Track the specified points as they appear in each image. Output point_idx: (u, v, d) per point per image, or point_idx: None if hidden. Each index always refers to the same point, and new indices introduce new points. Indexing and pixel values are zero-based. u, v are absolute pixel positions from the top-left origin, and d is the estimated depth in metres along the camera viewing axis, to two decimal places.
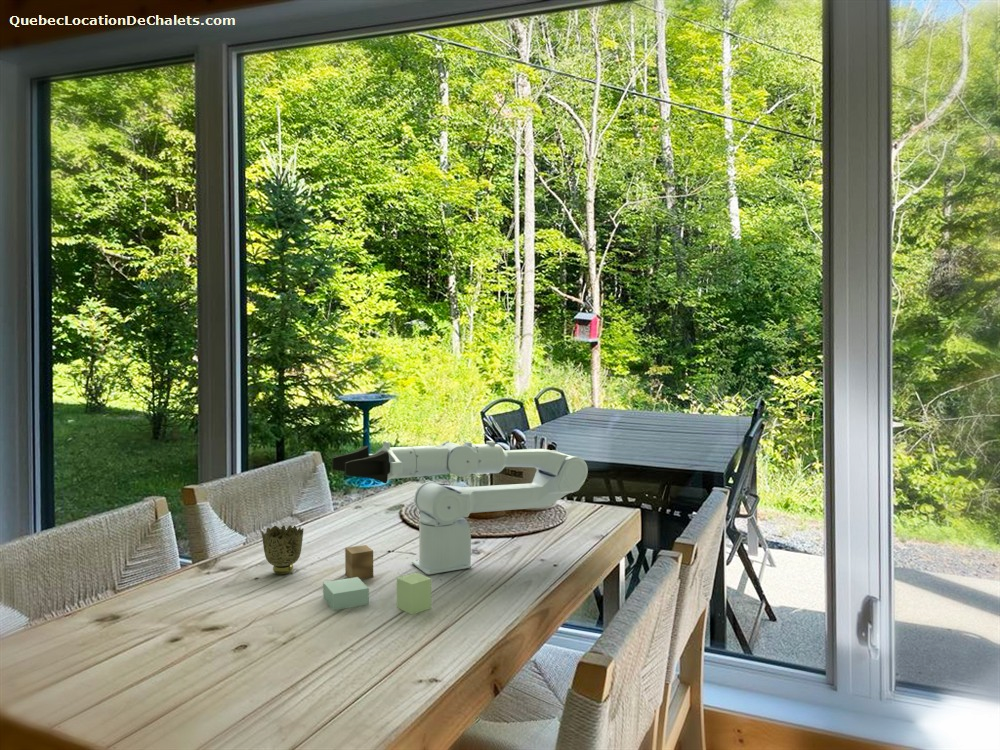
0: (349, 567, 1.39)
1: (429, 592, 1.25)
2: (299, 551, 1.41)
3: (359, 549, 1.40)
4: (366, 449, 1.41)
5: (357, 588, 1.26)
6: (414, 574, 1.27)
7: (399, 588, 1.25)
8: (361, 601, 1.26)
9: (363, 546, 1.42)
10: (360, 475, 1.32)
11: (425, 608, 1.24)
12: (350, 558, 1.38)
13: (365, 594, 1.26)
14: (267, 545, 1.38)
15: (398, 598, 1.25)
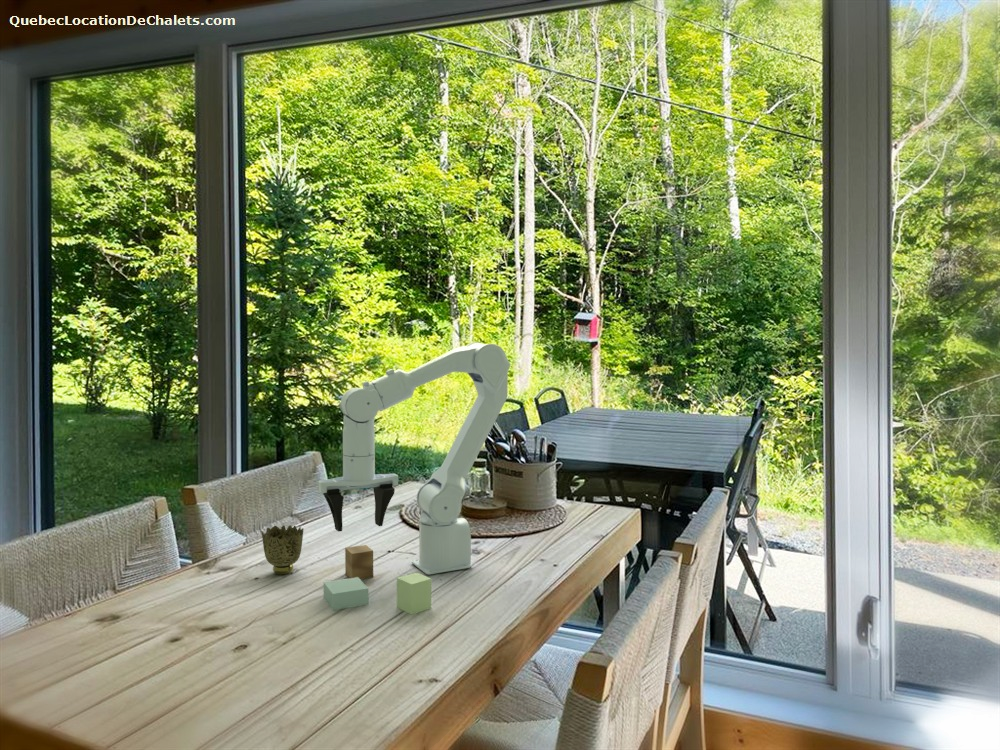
0: (349, 567, 1.39)
1: (429, 592, 1.25)
2: (299, 551, 1.41)
3: (359, 549, 1.40)
4: (374, 488, 1.43)
5: (356, 589, 1.26)
6: (414, 574, 1.27)
7: (399, 588, 1.25)
8: (361, 601, 1.26)
9: (363, 546, 1.42)
10: (336, 518, 1.36)
11: (425, 608, 1.24)
12: (350, 558, 1.38)
13: (365, 594, 1.26)
14: (267, 545, 1.38)
15: (398, 598, 1.25)
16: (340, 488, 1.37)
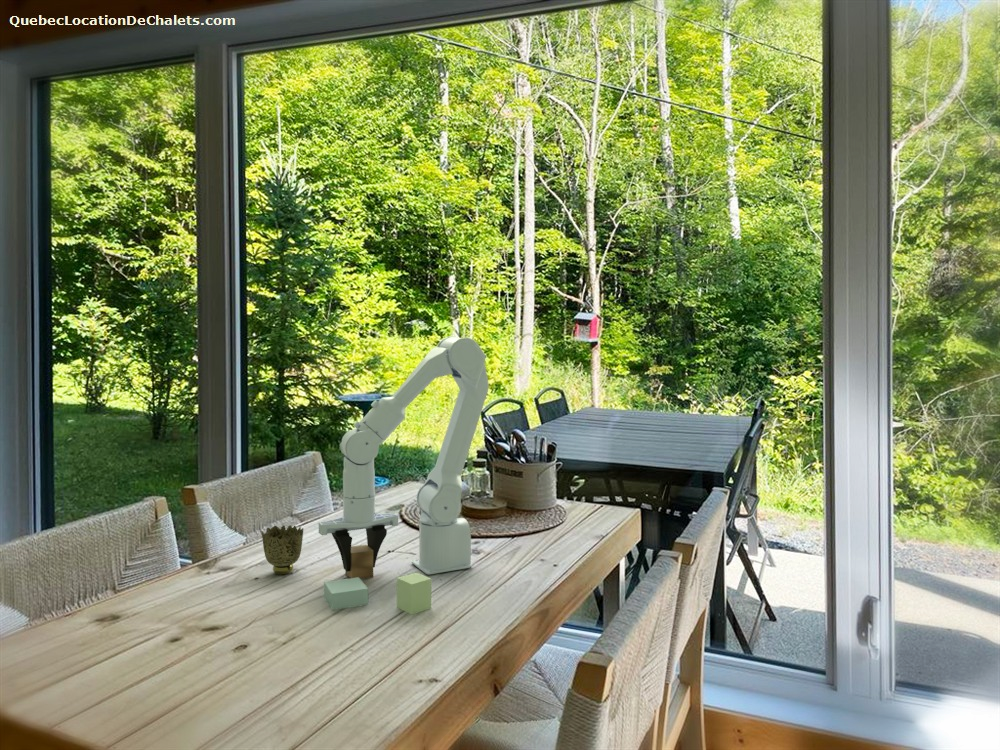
0: None
1: (429, 592, 1.25)
2: (299, 551, 1.41)
3: (359, 549, 1.40)
4: (366, 529, 1.43)
5: (356, 589, 1.26)
6: (414, 574, 1.27)
7: (399, 588, 1.25)
8: (360, 601, 1.26)
9: (363, 546, 1.42)
10: (345, 558, 1.38)
11: (425, 608, 1.24)
12: None
13: (364, 594, 1.26)
14: (267, 545, 1.38)
15: (398, 598, 1.25)
16: (340, 529, 1.38)
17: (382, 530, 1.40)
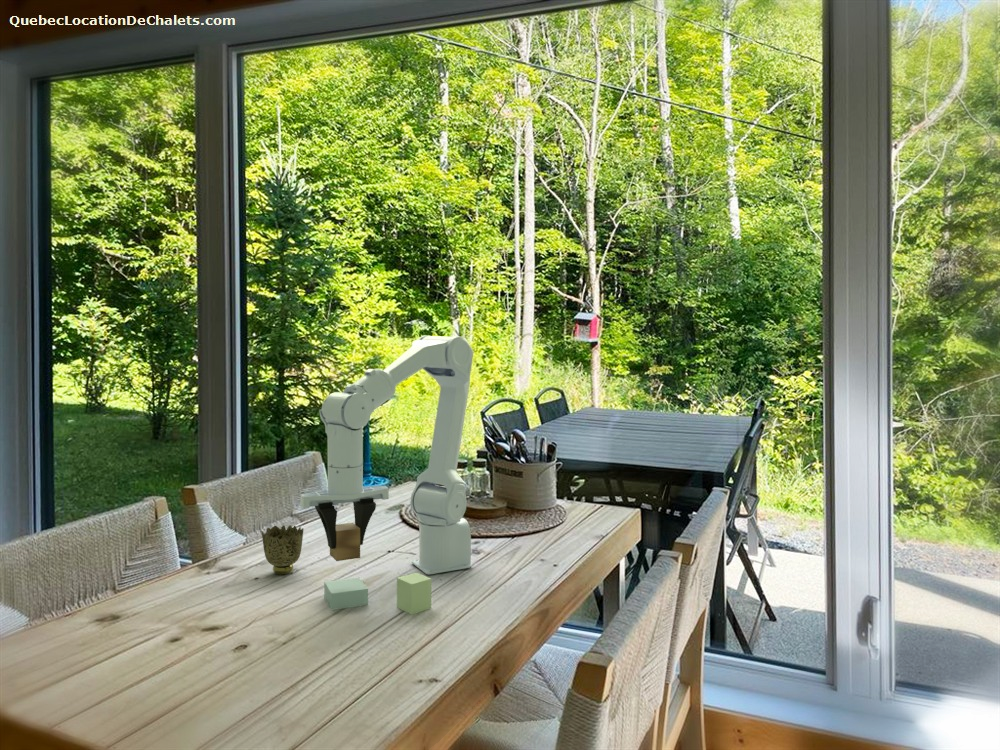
0: None
1: (429, 592, 1.25)
2: (299, 551, 1.41)
3: (345, 527, 1.27)
4: (353, 503, 1.30)
5: (356, 589, 1.26)
6: (414, 574, 1.27)
7: (399, 588, 1.25)
8: (360, 602, 1.26)
9: (349, 524, 1.29)
10: (329, 534, 1.25)
11: (425, 608, 1.24)
12: None
13: (364, 595, 1.26)
14: (267, 545, 1.38)
15: (398, 598, 1.25)
16: (324, 502, 1.25)
17: (371, 503, 1.27)
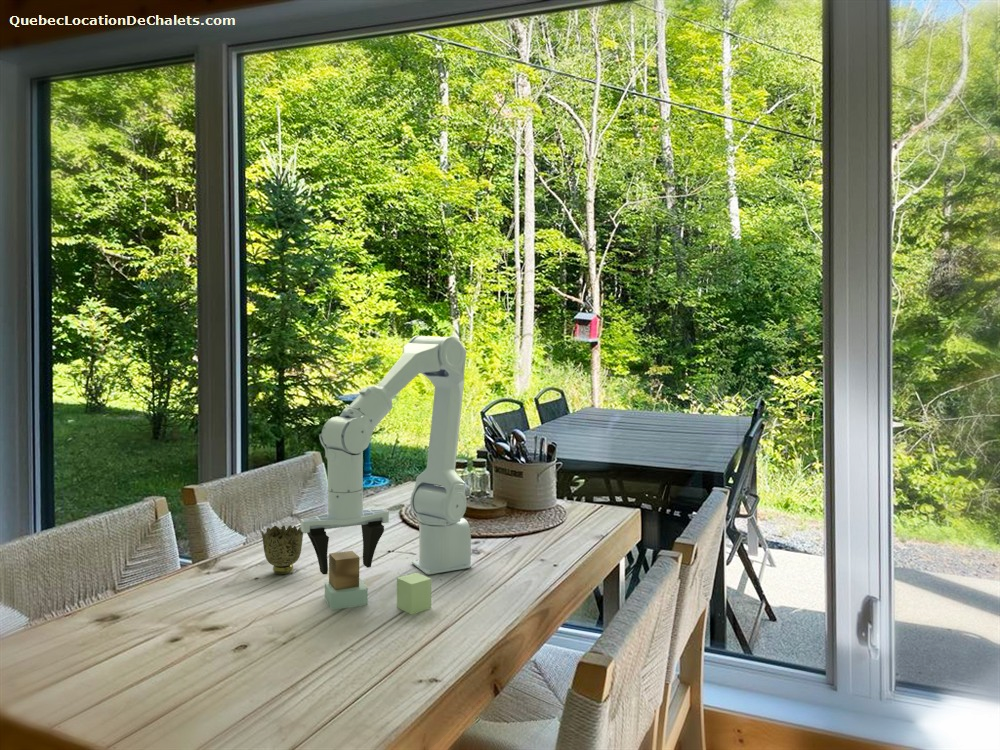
0: (333, 574, 1.26)
1: (429, 592, 1.25)
2: (299, 551, 1.41)
3: (344, 555, 1.28)
4: (361, 525, 1.31)
5: (355, 589, 1.26)
6: (414, 574, 1.27)
7: (399, 588, 1.25)
8: (359, 602, 1.26)
9: (349, 552, 1.30)
10: (321, 560, 1.24)
11: (425, 608, 1.24)
12: (334, 565, 1.26)
13: (364, 595, 1.26)
14: (267, 545, 1.38)
15: (398, 598, 1.25)
16: (325, 527, 1.25)
17: (379, 526, 1.28)
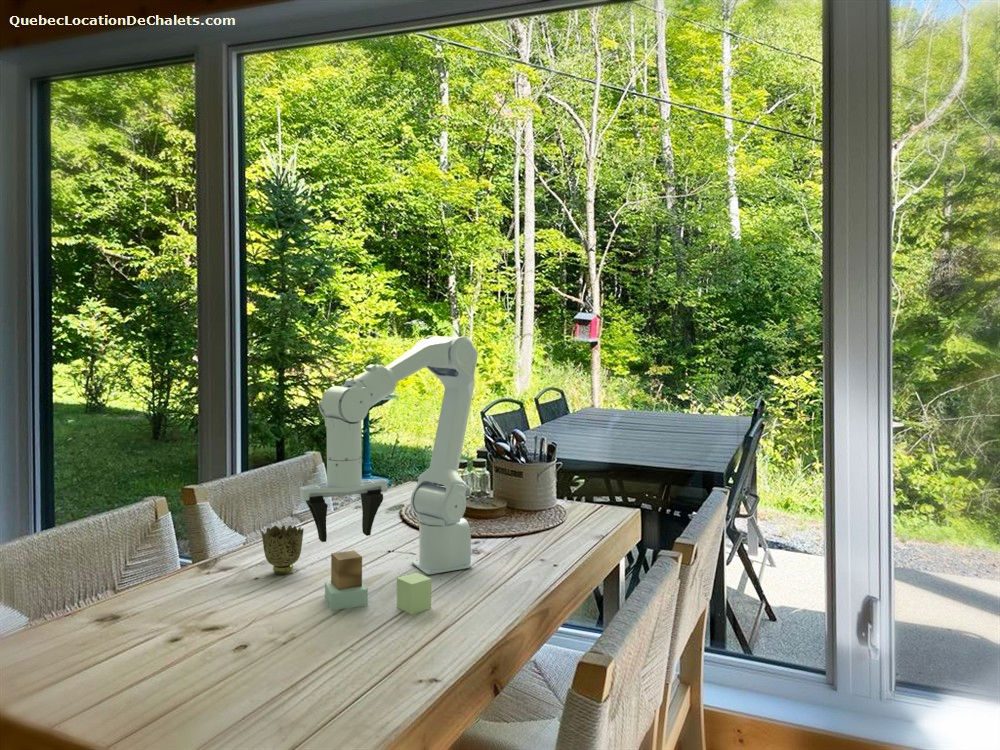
0: (336, 574, 1.26)
1: (429, 592, 1.25)
2: (299, 551, 1.41)
3: (347, 555, 1.28)
4: (361, 495, 1.32)
5: (355, 589, 1.26)
6: (414, 574, 1.27)
7: (399, 588, 1.25)
8: (359, 602, 1.26)
9: (351, 552, 1.30)
10: (320, 528, 1.26)
11: (425, 608, 1.24)
12: (336, 565, 1.26)
13: (364, 595, 1.26)
14: (267, 545, 1.38)
15: (398, 598, 1.25)
16: (324, 495, 1.26)
17: (378, 495, 1.29)
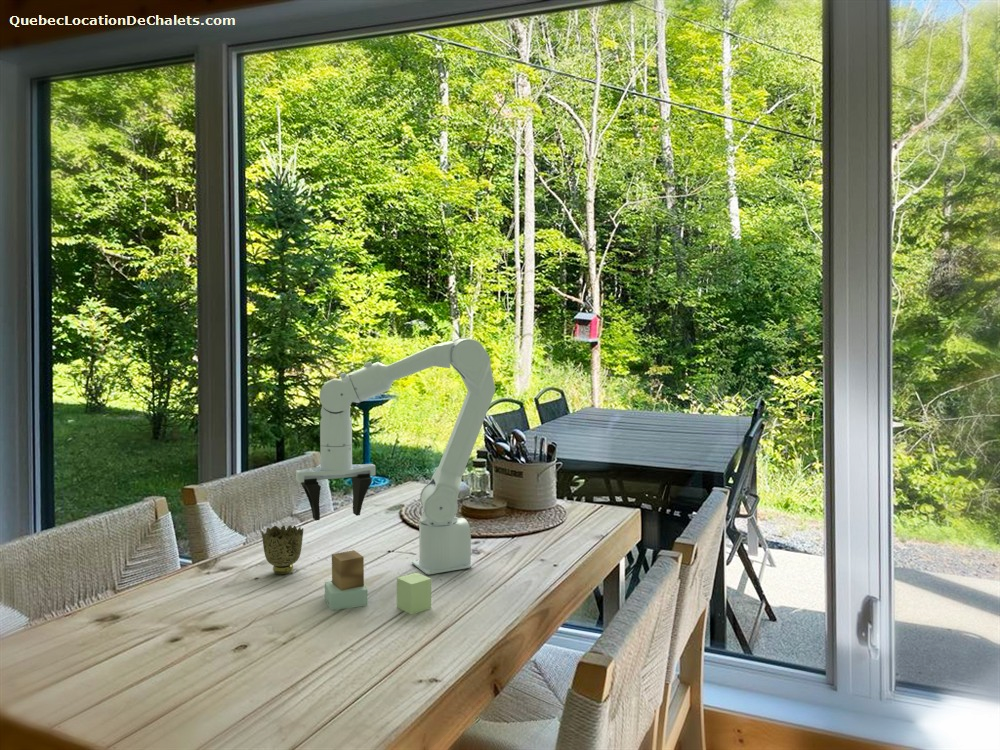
0: (338, 575, 1.26)
1: (429, 592, 1.25)
2: (299, 551, 1.41)
3: (348, 555, 1.27)
4: (351, 478, 1.45)
5: (355, 589, 1.26)
6: (414, 574, 1.27)
7: (399, 588, 1.25)
8: (359, 602, 1.26)
9: (351, 552, 1.29)
10: (314, 507, 1.38)
11: (425, 608, 1.24)
12: (338, 566, 1.26)
13: (363, 595, 1.26)
14: (267, 545, 1.38)
15: (398, 598, 1.25)
16: (317, 478, 1.39)
17: (367, 478, 1.42)
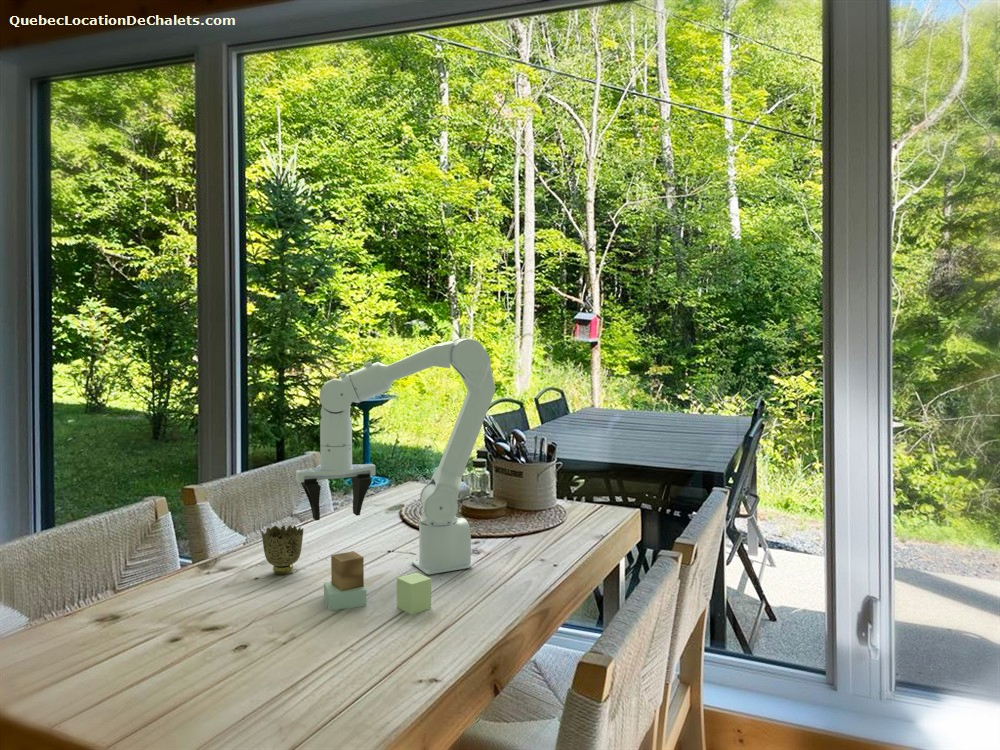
0: (338, 576, 1.26)
1: (429, 592, 1.25)
2: (299, 551, 1.41)
3: (347, 556, 1.27)
4: (351, 478, 1.45)
5: (354, 590, 1.26)
6: (414, 574, 1.27)
7: (399, 588, 1.25)
8: (358, 603, 1.26)
9: (351, 553, 1.29)
10: (314, 507, 1.38)
11: (425, 608, 1.24)
12: (338, 567, 1.26)
13: (362, 596, 1.26)
14: (267, 545, 1.38)
15: (398, 598, 1.25)
16: (317, 478, 1.39)
17: (367, 478, 1.42)
